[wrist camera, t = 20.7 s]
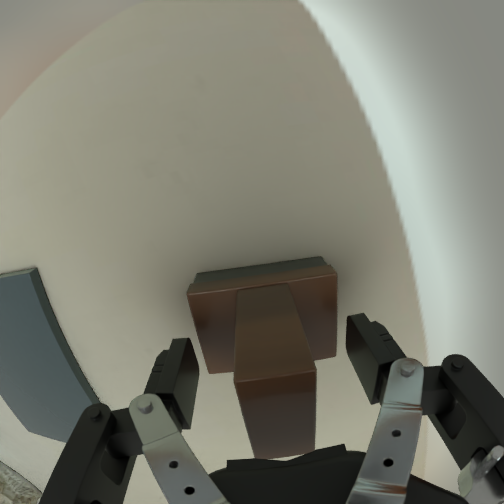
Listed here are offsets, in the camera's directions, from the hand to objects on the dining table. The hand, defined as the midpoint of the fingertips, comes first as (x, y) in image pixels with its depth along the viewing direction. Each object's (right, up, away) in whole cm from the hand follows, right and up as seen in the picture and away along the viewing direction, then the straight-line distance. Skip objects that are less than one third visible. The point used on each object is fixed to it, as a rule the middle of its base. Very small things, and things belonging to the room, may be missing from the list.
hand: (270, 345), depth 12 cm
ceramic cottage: (-62, -54, +21) cm, 85 cm away
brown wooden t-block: (0, +1, +4) cm, 4 cm away
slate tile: (-22, -7, +6) cm, 24 cm away
